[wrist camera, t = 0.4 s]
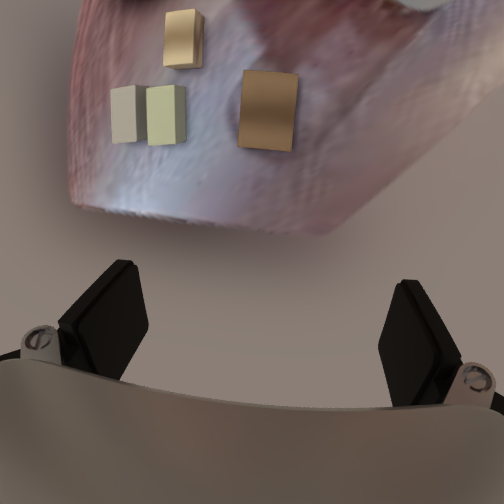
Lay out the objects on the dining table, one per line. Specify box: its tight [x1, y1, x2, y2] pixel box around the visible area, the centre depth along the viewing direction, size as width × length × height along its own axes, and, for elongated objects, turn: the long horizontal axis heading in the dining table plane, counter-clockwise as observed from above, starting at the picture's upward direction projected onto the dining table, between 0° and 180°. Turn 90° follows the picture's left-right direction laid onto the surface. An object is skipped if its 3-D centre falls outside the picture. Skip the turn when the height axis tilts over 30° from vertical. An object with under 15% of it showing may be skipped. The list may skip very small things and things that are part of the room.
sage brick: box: [146, 85, 186, 146], centre depth 33 cm, size 7×4×4 cm, turn 179°
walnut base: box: [238, 70, 299, 152], centre depth 33 cm, size 9×6×3 cm, turn 175°
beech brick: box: [163, 9, 204, 69], centre depth 29 cm, size 7×4×4 cm, turn 178°
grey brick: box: [111, 85, 149, 144], centre depth 33 cm, size 7×4×4 cm, turn 179°
